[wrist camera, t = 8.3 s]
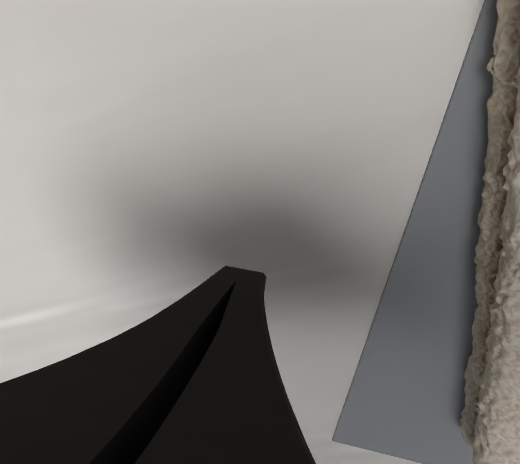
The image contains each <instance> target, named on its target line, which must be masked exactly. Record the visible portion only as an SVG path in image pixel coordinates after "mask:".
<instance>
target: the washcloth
mask: <svg viewBox="0 0 520 464" xmlns="http://www.w3.org/2000/svg"><path fill="white" fill-rule="evenodd" d="M496 7H497V12H498V16H499V17H498V22H497V27H496V32H495V37H494V42H493V47H494V55H495V58H491V59H490V61H489V63H488V65H487V67H486V68H487V70H488V71H491V74H492V75H493V94H492V95H491V97H490V98H489V99H488V101H487V110H488V139H489V142H488V146H487V156H486V158H485V160H484V164H485V168H486V172H485V175H484V176H483V177H482V178H483V180H484V182H485V187H484V189H483V192H482V194H481V195H482V197H483V198H482V207H481V209H480V212H479V215H478V222H477V223H478V225H479V227H480V236H479V241H478V244H477V245H476V247H475V251H476V257H475V258H474V261H475V263H476V264H477V267H476V273H477V274H476V276H475V278H476V281H477V284H476V286H475V291H476V299H477V303H478V305H479V306H478V307H477V309H476V310H475V314H474V319H475V320H474V323H473V325H472V335H473V341H472V346H473V350H472V355H471V356H469V358H468V364H467V368H466V370H465V374H464V377H465V379H466V385H465V388H464V392H465V394H466V397H465V408H464V409H463V411H462V412H460V414H461V415H462V418H461V419H460V429H461V435H462V438H463V439H464V441H465V443H466V444H467V445H468V446H469V447H470V448H471V449H473V459H472V460H473V464H520V0H497V4H496ZM492 68H493V71H492Z"/></svg>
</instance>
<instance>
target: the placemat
mask: <svg viewBox="0 0 520 464" xmlns="http://www.w3.org/2000/svg"><path fill="white" fill-rule="evenodd" d="M496 4H497V0H485V1H484V4H483V7H482V10H481V12H480V15H479V18H478V21H477V24H476V27H475V30H474V33H473V35H472V38H471V41H470V44H469V47H468V50H467V53H466V56H465V59H464V61H463V64H462V67H461V70H460V73H459V76H458V79H457V82H456V84H455V87H454V90H453V93H452V96H451V99H450V102H449V105H448V107H447V110H446V113H445V116H444V119H443V122H442V125H441V128H440V130H439V133H438V136H437V139H436V142H435V145H434V148H433V151H432V154H431V156H430V159H429V162H428V165H427V168H426V171H425V174H424V177H423V179H422V182H421V185H420V188H419V191H418V194H417V197H416V200H415V202H414V205H413V208H412V211H411V214H410V217H409V220H408V223H407V225H406V228H405V231H404V234H403V237H402V240H401V243H400V246H399V249H398V251H397V254H396V257H395V260H394V263H393V266H392V269H391V272H390V274H389V277H388V280H387V283H386V286H385V289H384V292H383V295H382V297H381V300H380V303H379V306H378V309H377V312H376V315H375V318H374V320H373V323H372V326H371V329H370V332H369V335H368V338H367V341H366V344H365V346H364V349H363V352H362V355H361V358H360V361H359V364H358V367H357V369H356V372H355V375H354V378H353V381H352V384H351V387H350V390H349V392H348V395H347V398H346V401H345V404H344V407H343V410H342V413H341V415H340V418H339V421H338V424H337V427H336V430H335V433H334V436H333V439H332V441H335V442H339V443H343V444H347V445H351V446H355V447H359V448H363V449H367V450H371V451H375V452H379V453H383V454H387V455H391V456H395V457H399V458H403V459H407V460H411V461H415V462H419V463H423V464H473V460H472V459H473V449H471V448H470V447H469V446H468V445H467V444H466V443H465V441H464V439H463V438H462V435H461V429H460V419H461V418H462V415H461V414H460V412H462V411H463V409H464V408H465V397H466V394H465V392H464V388H465V385H466V379H465V377H464V374H465V370H466V368H467V364H468V358H469V356H471V355H472V350H473V346H472V341H473V335H472V325H473V323H474V320H475V319H474V314H475V310H476V309H477V307H478V306H479V305H478V303H477V299H476V291H475V286H476V284H477V281H476V278H475V276H476V274H477V273H476V267H477V264H476V263H475V261H474V258H475V257H476V251H475V247H476V245H477V244H478V241H479V236H480V227H479V225H478V223H477V222H478V215H479V212H480V209H481V207H482V198H483V197H482V195H481V194H482V192H483V189H484V187H485V182H484V180H483V178H482V177H483V176H484V175H485V172H486V168H485V164H484V160H485V158H486V156H487V146H488V142H489V139H488V110H487V101H488V99H489V98H490V97H491V95H492V94H493V75H492V74H491V71H488V70H487V68H486V67H487V65H488V63H489V61H490V59H491V58H495V55H494V47H493V42H494V37H495V32H496V27H497V22H498V17H499V16H498V12H497V7H496ZM492 71H493V68H492Z"/></svg>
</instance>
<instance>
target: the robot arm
mask: <svg viewBox="0 0 520 464" xmlns="http://www.w3.org/2000/svg"><path fill="white" fill-rule="evenodd" d="M265 282H266V276H265V275H264V273H261V272H256V271H251V270H245V269H240V268H235V267H229V266H225V267H223V268H222V269H221V270H219V271H218V272H217V273H215V274H214V275H213V276H211V277H210V278H209V279H207V280H206V281H205V282H203V283H202V284H201V285H199V286H198V287H197V288H195V289H194V290H192V291H191V292H189V293H188V294H187V295H185V296H184V297H182V298H181V299H179V300H178V301H177V302H175V303H173V304H172V305H170V306H169V307H167V308H166V309H164V310H162V311H161V312H159V313H158V314H156V315H154V316H153V317H151V318H149V319H148V320H146V321H144V322H142V323H141V324H139V325H137V326H135V327H133V328H131V329H129V330H127V331H125V332H123V333H122V334H120V335H118V336H116V337H114V338H111V339H109V340H107V341H105V342H103V343H100V344H98V345H96V346H94V347H91V348H89V349H87V350H85V351H82V352H80V353H78V354H76V355H73V356H71V357H69V358H67V359H64V360H62V361H59V362H57V363H54V364H51V365H49V366H46V367H44V368H41V369H39V370H36V371H33V372H31V373H28V374H25V375H22V376H20V377H17V378H14V379H11V380H9V381H6V382H3V383H0V464H316V463H315V461H314V459H313V457H312V454H311V452H310V450H309V448H308V446H307V443H306V441H305V439H304V436H303V434H302V431H301V429H300V426H299V424H298V422H297V419H296V417H295V414H294V412H293V409H292V407H291V404H290V402H289V399H288V397H287V394H286V391H285V388H284V385H283V382H282V379H281V376H280V373H279V370H278V366H277V363H276V360H275V356H274V352H273V349H272V345H271V340H270V336H269V331H268V326H267V320H266V313H265V305H264V290H265Z"/></svg>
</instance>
